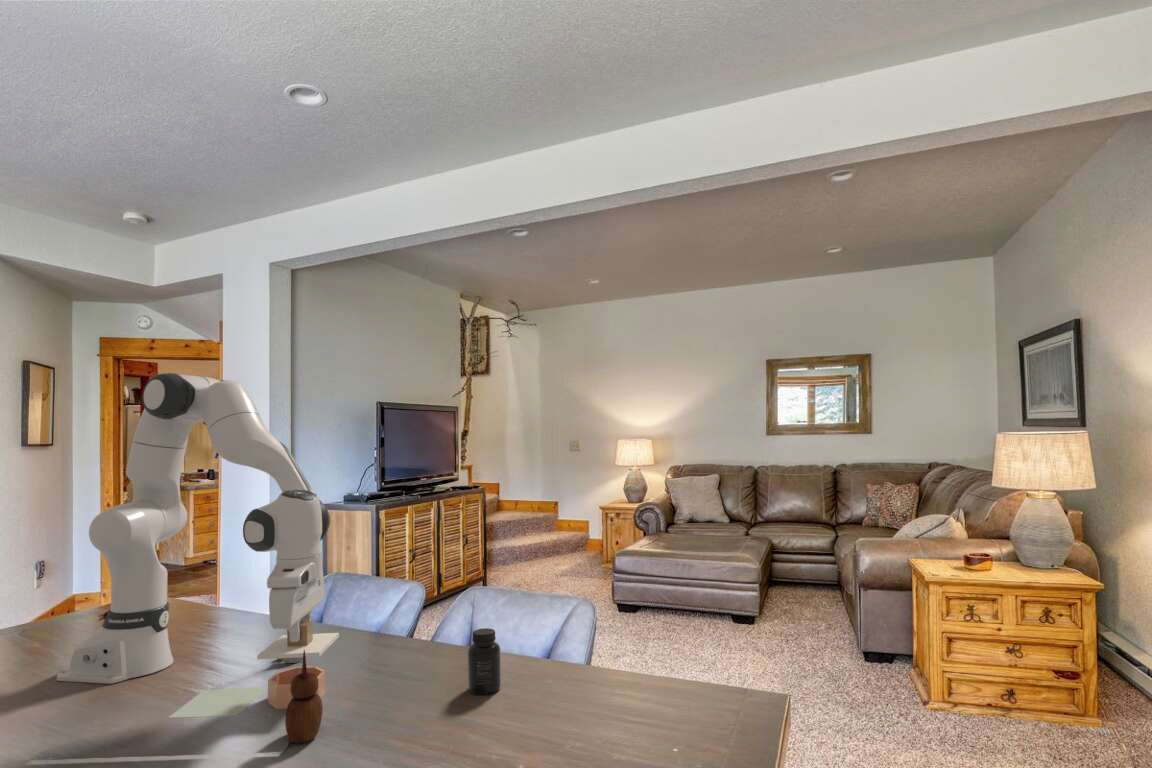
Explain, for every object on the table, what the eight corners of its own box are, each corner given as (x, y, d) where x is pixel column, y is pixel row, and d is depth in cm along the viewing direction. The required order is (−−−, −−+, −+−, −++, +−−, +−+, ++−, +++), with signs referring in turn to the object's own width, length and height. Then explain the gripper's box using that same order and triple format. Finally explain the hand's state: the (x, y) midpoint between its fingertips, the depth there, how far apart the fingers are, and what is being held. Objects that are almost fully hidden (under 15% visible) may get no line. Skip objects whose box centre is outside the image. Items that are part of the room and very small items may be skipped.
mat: (168, 720, 124) (168, 717, 124) (204, 692, 137) (204, 689, 137) (237, 718, 124) (237, 715, 124) (266, 690, 137) (266, 687, 137)
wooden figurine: (293, 730, 119) (294, 647, 120) (326, 728, 120) (326, 646, 121) (280, 748, 112) (281, 661, 113) (314, 747, 113) (315, 659, 114)
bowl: (261, 712, 127) (261, 686, 127) (282, 691, 137) (282, 667, 137) (312, 710, 127) (313, 684, 128) (330, 689, 137) (330, 665, 138)
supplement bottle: (506, 685, 138) (506, 628, 139) (489, 698, 132) (489, 638, 133) (479, 680, 141) (479, 624, 142) (461, 692, 135) (461, 634, 136)
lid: (257, 659, 127) (257, 634, 127) (282, 639, 139) (282, 616, 139) (319, 656, 127) (319, 631, 127) (339, 636, 139) (338, 613, 139)
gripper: (303, 559, 144) (303, 622, 143) (262, 581, 124) (262, 655, 123) (331, 558, 144) (332, 621, 144) (296, 580, 124) (296, 653, 123)
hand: (299, 637), depth 133 cm, fingers closed on lid, 3 cm apart
